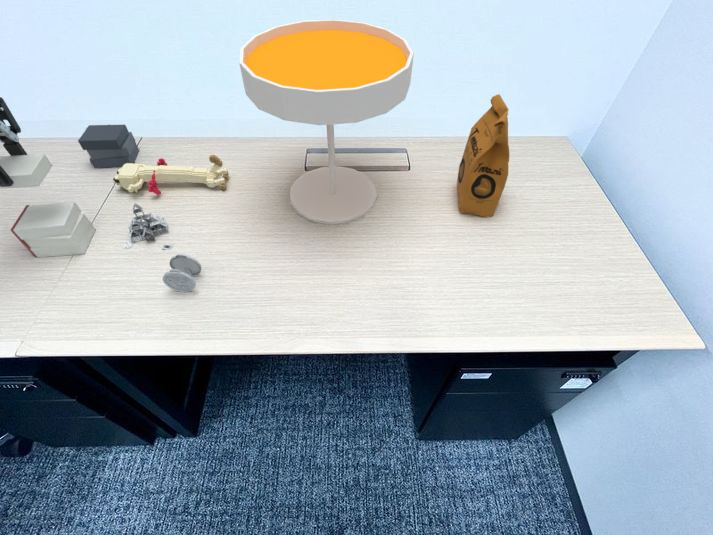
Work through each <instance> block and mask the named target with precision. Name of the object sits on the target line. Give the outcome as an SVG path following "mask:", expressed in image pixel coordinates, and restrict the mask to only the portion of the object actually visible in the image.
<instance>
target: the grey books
mask: <svg viewBox="0 0 713 535" xmlns="http://www.w3.org/2000/svg"><path fill="white" fill-rule="evenodd" d="M77 142H78V144H79V145H80V147H81V149H82V150H83V151H87V154H88V156H89V162H90V163H91V165H92V167H93V169H109V168H111V169H112V168H122V167H123V165H124V164H126V163H133V164H135V161H136V159H137V157H138V154H139V152H140V149H139V147H138V145H137V142H136V139H135V137H134V135H133V133H132V131H129V130H128V127H127V125H126V124H89V125H88V126H87V128H85V130H84V131H83V133H82V135H81V136H80V137H79V139H78V140H77Z"/></svg>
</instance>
